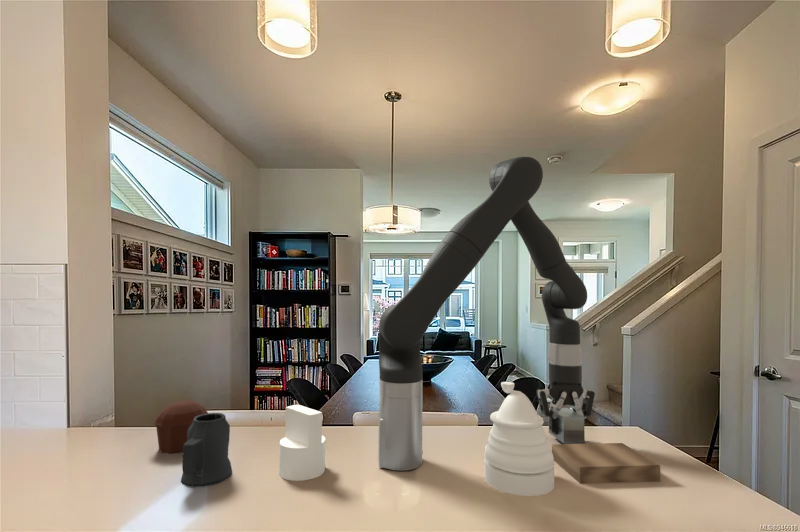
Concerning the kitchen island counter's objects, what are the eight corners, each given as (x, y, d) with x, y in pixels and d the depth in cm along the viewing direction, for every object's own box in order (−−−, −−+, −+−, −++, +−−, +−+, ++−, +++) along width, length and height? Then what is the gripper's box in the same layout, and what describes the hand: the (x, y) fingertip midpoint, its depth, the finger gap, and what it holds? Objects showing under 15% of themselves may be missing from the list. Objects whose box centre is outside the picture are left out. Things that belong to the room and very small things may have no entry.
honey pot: (472, 482, 78) (472, 385, 79) (500, 461, 88) (499, 375, 89) (541, 503, 70) (538, 395, 71) (563, 477, 80) (560, 383, 82)
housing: (563, 443, 95) (563, 417, 95) (548, 432, 103) (548, 407, 103) (584, 443, 95) (584, 416, 96) (567, 432, 103) (567, 407, 104)
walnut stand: (580, 483, 78) (579, 467, 78) (551, 458, 89) (551, 444, 90) (660, 481, 79) (660, 465, 79) (622, 457, 91) (621, 442, 91)
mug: (197, 465, 85) (199, 410, 85) (240, 467, 84) (242, 410, 85) (160, 493, 73) (163, 428, 74) (210, 495, 72) (213, 429, 73)
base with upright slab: (270, 471, 82) (271, 409, 83) (308, 458, 89) (309, 401, 90) (295, 485, 76) (296, 418, 77) (334, 470, 83) (335, 409, 84)
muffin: (181, 436, 102) (183, 395, 103) (218, 440, 99) (220, 398, 100) (139, 453, 91) (141, 407, 92) (180, 459, 88) (182, 411, 89)
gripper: (542, 364, 96) (543, 439, 95) (601, 364, 97) (603, 438, 96) (530, 359, 104) (530, 429, 102) (585, 359, 105) (586, 428, 104)
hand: (566, 433), depth 99 cm, fingers closed on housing, 5 cm apart
